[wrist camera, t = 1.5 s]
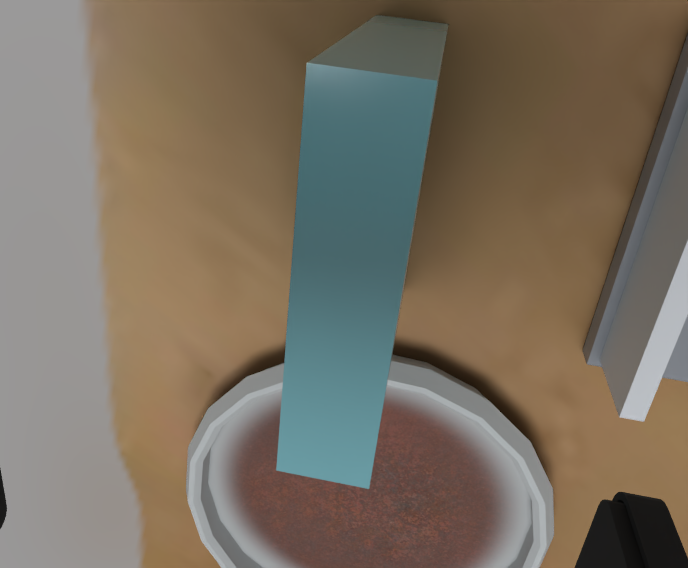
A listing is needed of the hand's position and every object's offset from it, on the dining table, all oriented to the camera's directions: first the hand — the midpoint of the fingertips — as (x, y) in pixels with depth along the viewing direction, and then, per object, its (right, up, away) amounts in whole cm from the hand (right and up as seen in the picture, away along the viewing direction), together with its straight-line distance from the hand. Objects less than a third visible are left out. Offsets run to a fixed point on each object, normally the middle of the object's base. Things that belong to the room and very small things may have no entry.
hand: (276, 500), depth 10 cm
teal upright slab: (+3, +8, +14) cm, 16 cm away
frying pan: (+1, -11, +24) cm, 27 cm away
